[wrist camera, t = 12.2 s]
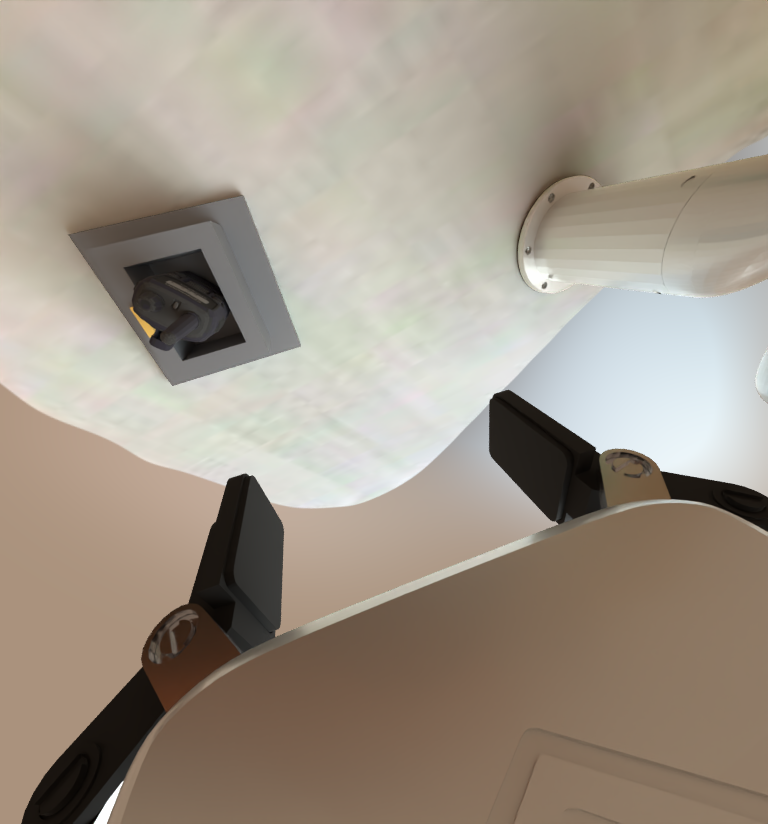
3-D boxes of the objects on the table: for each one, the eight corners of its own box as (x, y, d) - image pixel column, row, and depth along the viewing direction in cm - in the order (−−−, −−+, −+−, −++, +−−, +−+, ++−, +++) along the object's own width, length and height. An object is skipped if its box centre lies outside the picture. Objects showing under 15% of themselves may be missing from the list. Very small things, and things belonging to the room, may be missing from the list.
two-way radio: (240, 297, 29) (210, 333, 16) (221, 335, 30) (179, 397, 17) (178, 260, 26) (84, 271, 14) (159, 304, 27) (56, 351, 15)
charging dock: (244, 197, 26) (234, 183, 21) (300, 343, 34) (304, 361, 28) (75, 235, 24) (17, 231, 19) (175, 382, 32) (153, 409, 26)
